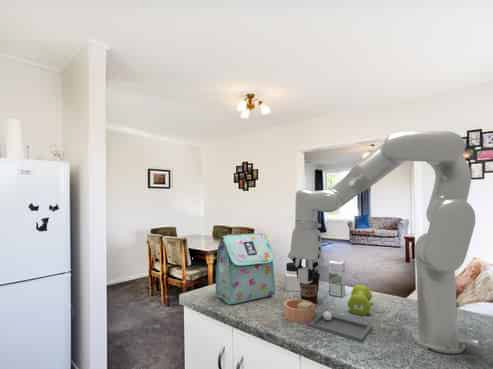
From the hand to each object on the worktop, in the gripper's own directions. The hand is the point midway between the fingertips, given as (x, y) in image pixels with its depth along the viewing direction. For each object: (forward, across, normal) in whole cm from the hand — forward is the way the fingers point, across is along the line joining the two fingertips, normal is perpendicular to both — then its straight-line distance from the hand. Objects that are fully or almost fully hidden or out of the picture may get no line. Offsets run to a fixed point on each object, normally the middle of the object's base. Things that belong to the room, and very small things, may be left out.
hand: (305, 278), depth 97 cm
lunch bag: (+15, +31, -7) cm, 35 cm away
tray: (+14, -12, -1) cm, 18 cm away
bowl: (+14, +3, -1) cm, 15 cm away
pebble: (+14, -7, -4) cm, 16 cm away
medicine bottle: (+15, +19, -29) cm, 38 cm away
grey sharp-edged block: (+1, 0, 0) cm, 1 cm away
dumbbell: (+14, -12, -23) cm, 30 cm away
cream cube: (+14, +1, -2) cm, 14 cm away
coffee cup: (+14, +6, -16) cm, 23 cm away
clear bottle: (+14, 0, -33) cm, 36 cm away
